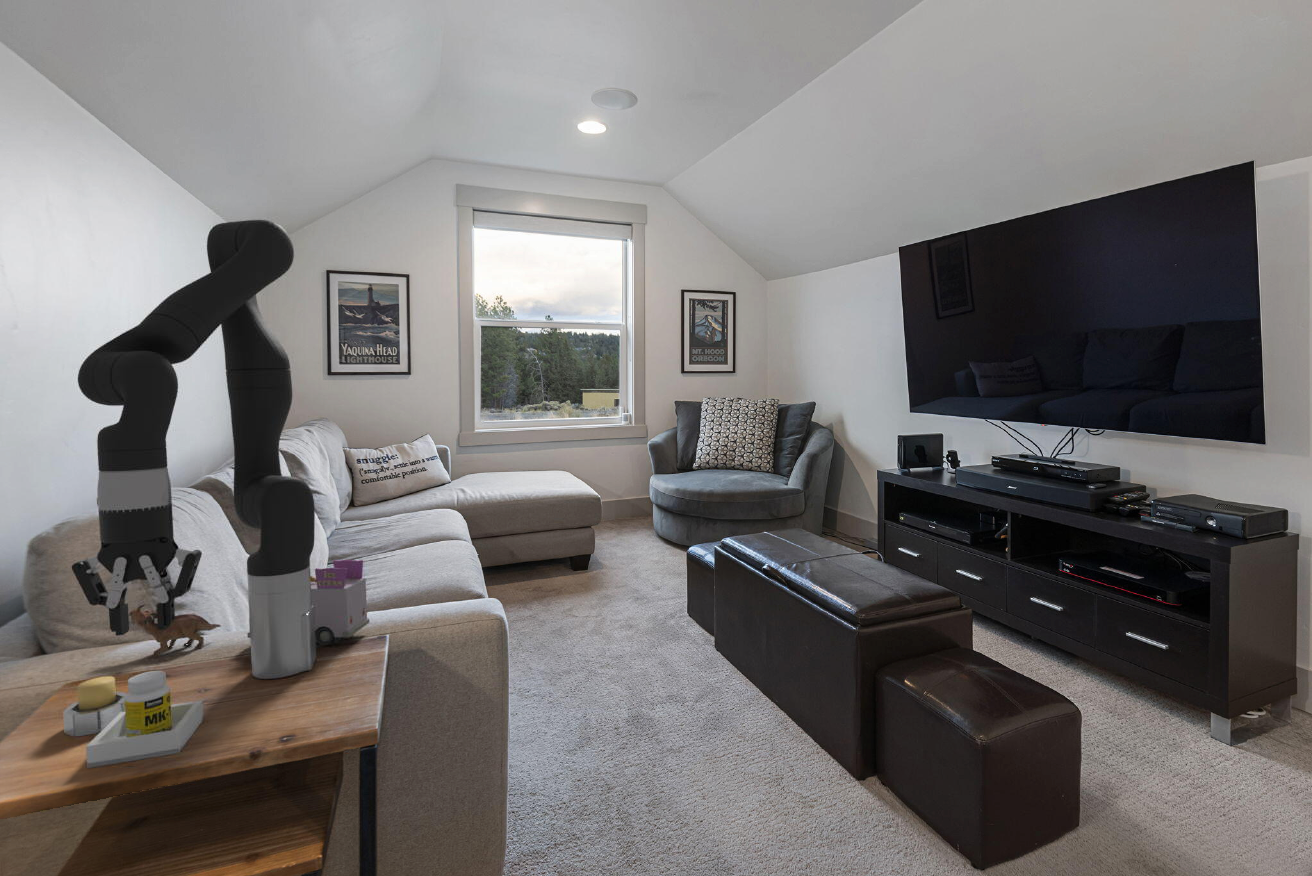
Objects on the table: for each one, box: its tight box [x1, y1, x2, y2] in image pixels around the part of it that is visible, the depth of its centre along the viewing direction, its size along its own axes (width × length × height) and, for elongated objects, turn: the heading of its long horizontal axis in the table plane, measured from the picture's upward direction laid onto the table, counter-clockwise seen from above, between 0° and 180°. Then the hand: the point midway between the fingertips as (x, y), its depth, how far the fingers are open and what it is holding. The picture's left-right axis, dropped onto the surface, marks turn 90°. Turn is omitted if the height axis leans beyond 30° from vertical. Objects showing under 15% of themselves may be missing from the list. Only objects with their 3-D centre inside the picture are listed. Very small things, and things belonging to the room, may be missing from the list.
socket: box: [62, 691, 128, 738], centre depth 90 cm, size 7×7×3 cm
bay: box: [85, 700, 204, 769], centre depth 85 cm, size 10×10×3 cm
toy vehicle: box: [246, 559, 370, 646], centre depth 122 cm, size 9×20×15 cm, turn 88°
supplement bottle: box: [125, 670, 172, 737], centre depth 85 cm, size 5×5×8 cm
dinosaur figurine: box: [128, 604, 222, 660], centre depth 119 cm, size 14×6×9 cm, turn 127°
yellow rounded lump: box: [77, 675, 117, 710], centre depth 90 cm, size 4×4×3 cm
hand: (143, 630), depth 84 cm, fingers open, 4 cm apart
